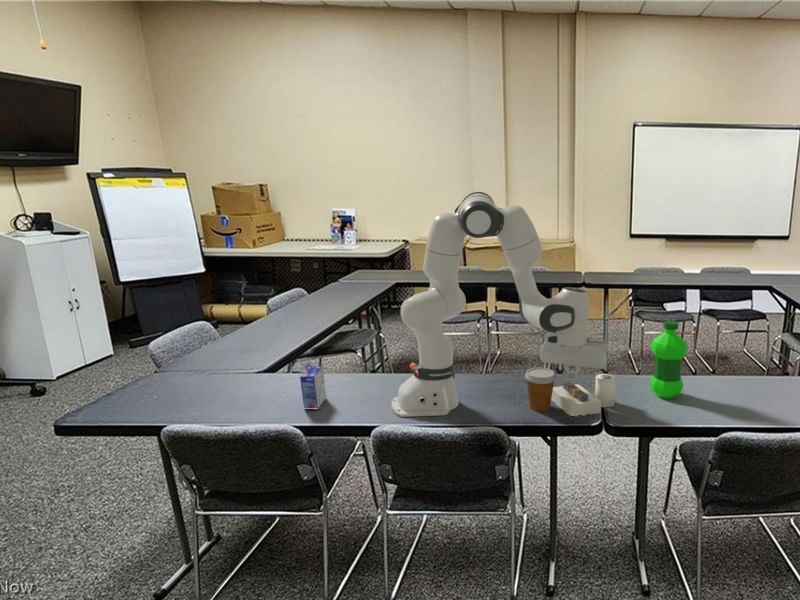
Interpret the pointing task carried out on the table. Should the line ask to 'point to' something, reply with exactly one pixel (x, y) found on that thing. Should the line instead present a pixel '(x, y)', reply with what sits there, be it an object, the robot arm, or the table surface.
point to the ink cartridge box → (313, 386)
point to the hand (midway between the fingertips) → (572, 377)
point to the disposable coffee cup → (540, 388)
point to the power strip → (575, 399)
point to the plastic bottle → (668, 361)
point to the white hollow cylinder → (605, 389)
